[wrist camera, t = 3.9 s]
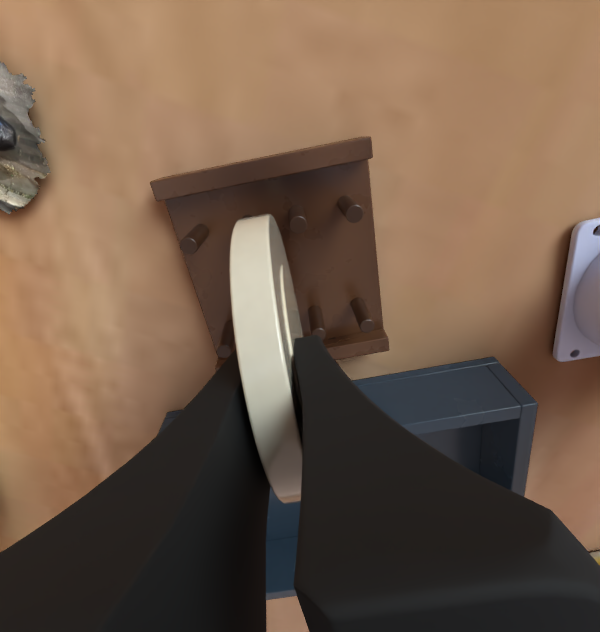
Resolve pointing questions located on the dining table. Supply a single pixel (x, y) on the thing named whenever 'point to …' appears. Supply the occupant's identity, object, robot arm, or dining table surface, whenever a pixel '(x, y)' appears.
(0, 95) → the oyster shell
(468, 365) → the dark blue tray
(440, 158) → the dining table surface
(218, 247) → the plate rack
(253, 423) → the plate
